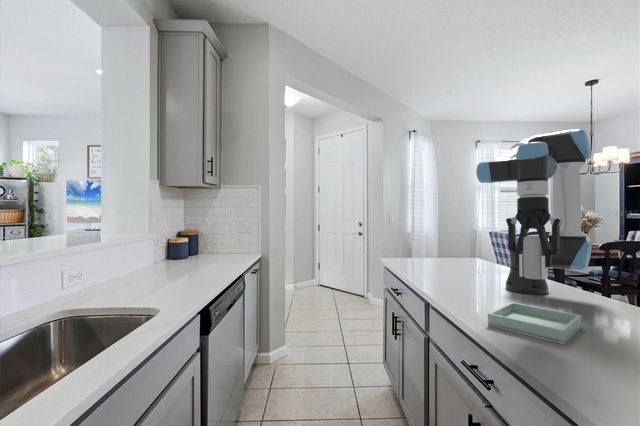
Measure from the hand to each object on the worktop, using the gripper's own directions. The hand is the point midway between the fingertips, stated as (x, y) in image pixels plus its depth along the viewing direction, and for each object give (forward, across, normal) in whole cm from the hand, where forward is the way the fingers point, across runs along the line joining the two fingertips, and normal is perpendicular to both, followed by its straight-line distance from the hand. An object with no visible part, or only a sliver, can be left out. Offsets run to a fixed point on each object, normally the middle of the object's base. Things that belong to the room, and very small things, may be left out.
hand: (533, 277), depth 90 cm
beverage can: (+1, 0, 0) cm, 1 cm away
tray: (+14, 0, 0) cm, 14 cm away
